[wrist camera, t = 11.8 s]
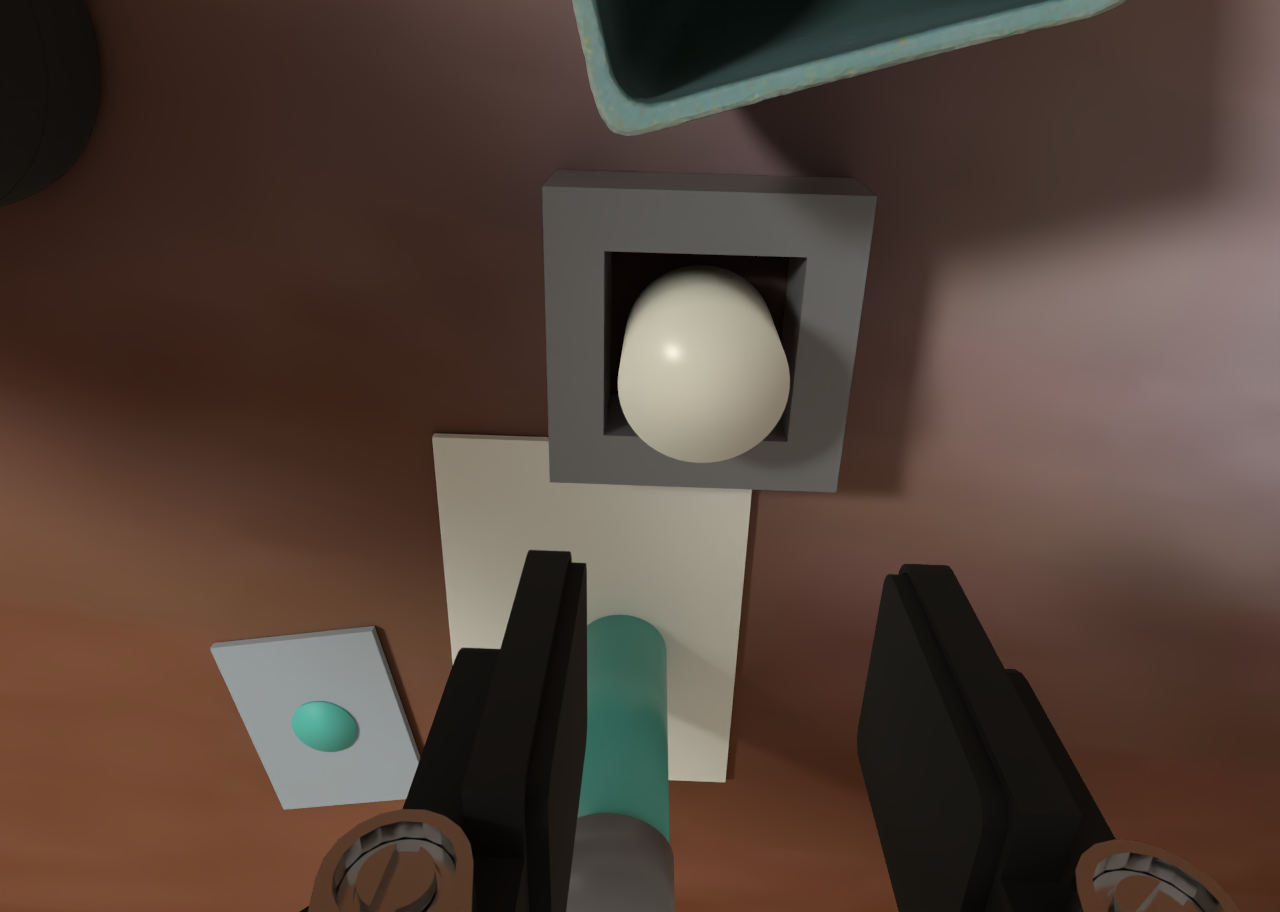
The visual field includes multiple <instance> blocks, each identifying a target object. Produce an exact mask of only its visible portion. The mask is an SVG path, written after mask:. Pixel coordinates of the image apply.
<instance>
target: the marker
mask: <svg viewBox="0 0 1280 912" xmlns="http://www.w3.org/2000/svg"><path fill="white" fill-rule="evenodd" d="M566 912H675V908H674V859H673V852H672V849H671V846H670V844H669V782H668V717H667V653H666V644H665V642H664V639H663V637H662V635H661V634H660V633H659V631H658V630H657V629H656V628H655V627H654V626H652V625H651V624H650V623H648V622H646V621H645V620H642V619H640V618H637V617H634V616H629V615H610V616H606V617H602V618H599V619H597V620H595V621H593V622H592V623H590V624H589V625H587V740H586V751H585V759H584V767H583V776H582V784H581V792H580V801H579V809H578V817H577V825H576V834H575V842H574V850H573V859H572V867H571V875H570V883H569V892H568V900H567V908H566Z"/></svg>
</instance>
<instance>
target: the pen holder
mask: <svg viewBox="0 0 1280 912" xmlns="http://www.w3.org/2000/svg"><path fill="white" fill-rule="evenodd" d="M98 97H99V62H98V54H97V47H96V41H95V37H94V33H93V29H92V25H91V21H90V17H89V15H88V12H87V9H86V6H85V4H84V1H83V0H0V207H1V206H4V205H7V204H10V203H13V202H16V201H19V200H21V199H24V198H26V197H29V196H31V195H33V194H35V193H37V192H39V191H41V190H43V189H45V188H46V187H48V186H49V185H50V184H52V183H53V182H54V181H56V180H57V179H58V178H60V177H61V176H62V175H63V174H64V173H65V172H66V171H67V170H68V169H69V168H70V167H71V166H72V164H73V163H74V162H75V160H76V159H77V157H78V156H79V154H80V153H81V151H82V150H83V148H84V146H85V144H86V141H87V139H88V137H89V135H90V132H91V130H92V127H93V123H94V119H95V116H96V112H97V105H98Z"/></svg>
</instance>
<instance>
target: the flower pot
mask: <svg viewBox="0 0 1280 912" xmlns="http://www.w3.org/2000/svg"><path fill="white" fill-rule="evenodd" d="M1125 1H1127V0H572V3H573V9H574V13H575V17H576V21H577V27H578V31H579V35H580V40H581V45H582V49H583V53H584V56H585V60H586V66H587V72H588V78H589V82H590V87H591V90H592V93H593V95H594V100H595V103H596V106H597V109H598V111H599V114H600V116H601V118H602V119H603V121H604V122H605V123H606V125H607V126H608V128H609V129H610V130H611V131H613V132H614V133H617V134H621V135H625V136H634V135H641V134H645V133H650V132H654V131H658V130H662V129H666V128H669V127H673V126H676V125H679V124H682V123H685V122H687V121H691V120H695V119H700V118H703V117H707V116H710V115H714V114H717V113H721V112H725V111H729V110H732V109H735V108H739V107H743V106H746V105H750V104H755V103H758V102H760V101H762V100H766V99H771V98H774V97H777V96H780V95H786V94H789V93H793V92H797V91H801V90H804V89H807V88H810V87H816V86H819V85H823V84H826V83H830V82H834V81H838V80H840V79H846V78H851V77H855V76H858V75H862V74H865V73H869V72H872V71H876V70H880V69H884V68H888V67H891V66H895V65H899V64H902V63H906V62H910V61H913V60H917V59H921V58H925V57H929V56H933V55H936V54H940V53H945V52H950V51H953V50H956V49H960V48H964V47H968V46H972V45H977V44H981V43H985V42H989V41H993V40H997V39H1002V38H1006V37H1009V36H1013V35H1016V34H1023V33H1026V32H1029V31H1033V30H1037V29H1043V28H1048V27H1052V26H1058V25H1062V24H1066V23H1070V22H1073V21H1077V20H1081V19H1086V18H1090V17H1093V16H1096V15H1099V14H1102V13H1104V12H1107V11H1109V10H1111V9H1113V8H1115V7H1117V6H1119V5H1121V4H1122V3H1124V2H1125Z"/></svg>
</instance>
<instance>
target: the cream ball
mask: <svg viewBox="0 0 1280 912" xmlns="http://www.w3.org/2000/svg"><path fill="white" fill-rule="evenodd" d="M789 389H790V374H789V367H788V363H787V359H786V355H785V353H784V350H783V347H782V344H781V342H780V339H779V336H778V333H777V331H776V328H775V325H774V322H773V320H772V317H771V314H770V312H769V309H768V307H767V304H766V303H765V301H764V299H763V298H762V296H761V295H760V293H759V292H758V291H757V290H756V289H755V288H754V287H753V286H752V285H751V284H750V283H749V282H748V281H747V280H745V279H744V278H742V277H741V276H739V275H737V274H736V273H734V272H732V271H729V270H726V269H724V268H720V267H716V266H709V265H692V266H686V267H681V268H678V269H675V270H672V271H670V272H668V273H665V274H663V275H662V276H660V277H659V278H657V279H655V280H654V281H653V282H652V283H651V284H649V285H648V286H647V287H646V288H645V289H644V290H643V291H642V292H641V294H640V295H639V297H638V298H637V299H636V301H635V303H634V305H633V306H632V308H631V311H630V313H629V316H628V319H627V324H626V329H625V335H624V341H623V347H622V354H621V360H620V366H619V373H618V395H619V400H620V404H621V407H622V410H623V413H624V415H625V417H626V419H627V421H628V423H629V424H630V426H631V427H632V429H633V430H634V432H635V433H636V434H637V435H638V436H639V437H640V438H641V439H642V440H643V441H644V442H645V443H647V444H648V445H649V446H650V447H652V448H653V449H655V450H656V451H658V452H660V453H662V454H664V455H666V456H668V457H671V458H674V459H677V460H681V461H686V462H694V463H711V462H718V461H723V460H727V459H731V458H733V457H736V456H738V455H741V454H743V453H745V452H746V451H748V450H750V449H752V448H753V447H754V446H756V445H757V444H759V443H760V442H761V441H762V440H763V439H764V438H765V437H767V436H768V434H769V433H770V432H771V431H772V430H773V428H774V427H775V426H776V424H777V423H778V421H779V420H780V418H781V416H782V413H783V411H784V409H785V406H786V403H787V400H788V395H789Z"/></svg>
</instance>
